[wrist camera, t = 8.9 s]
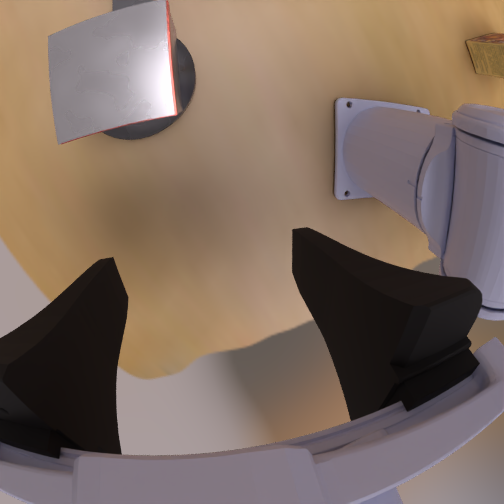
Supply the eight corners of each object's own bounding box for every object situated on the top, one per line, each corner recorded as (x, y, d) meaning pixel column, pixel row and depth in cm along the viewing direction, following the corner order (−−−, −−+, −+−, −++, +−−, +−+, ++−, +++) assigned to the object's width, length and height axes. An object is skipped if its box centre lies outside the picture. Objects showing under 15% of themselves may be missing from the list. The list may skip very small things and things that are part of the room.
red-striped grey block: (176, 29, 11) (167, -3, 7) (183, 111, 14) (175, 115, 10) (90, 50, 11) (47, 35, 6) (98, 130, 14) (57, 145, 9)
